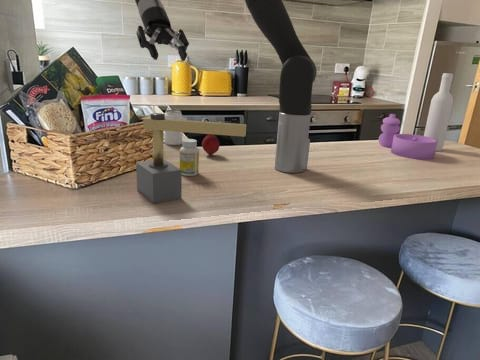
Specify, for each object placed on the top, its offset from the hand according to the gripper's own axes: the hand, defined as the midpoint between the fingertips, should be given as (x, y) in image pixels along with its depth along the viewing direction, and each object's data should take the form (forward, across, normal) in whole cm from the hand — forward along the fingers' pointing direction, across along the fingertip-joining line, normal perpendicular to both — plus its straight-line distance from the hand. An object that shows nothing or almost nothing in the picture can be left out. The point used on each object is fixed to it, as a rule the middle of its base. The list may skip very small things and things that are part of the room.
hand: (170, 58), depth 107 cm
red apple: (+20, +16, +24) cm, 35 cm away
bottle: (+39, +105, +4) cm, 112 cm away
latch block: (+38, -14, +6) cm, 41 cm away
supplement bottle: (+30, 0, +14) cm, 33 cm away
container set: (+37, +89, +7) cm, 97 cm away
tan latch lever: (+36, -8, -3) cm, 37 cm away
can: (+5, +12, +38) cm, 40 cm away
